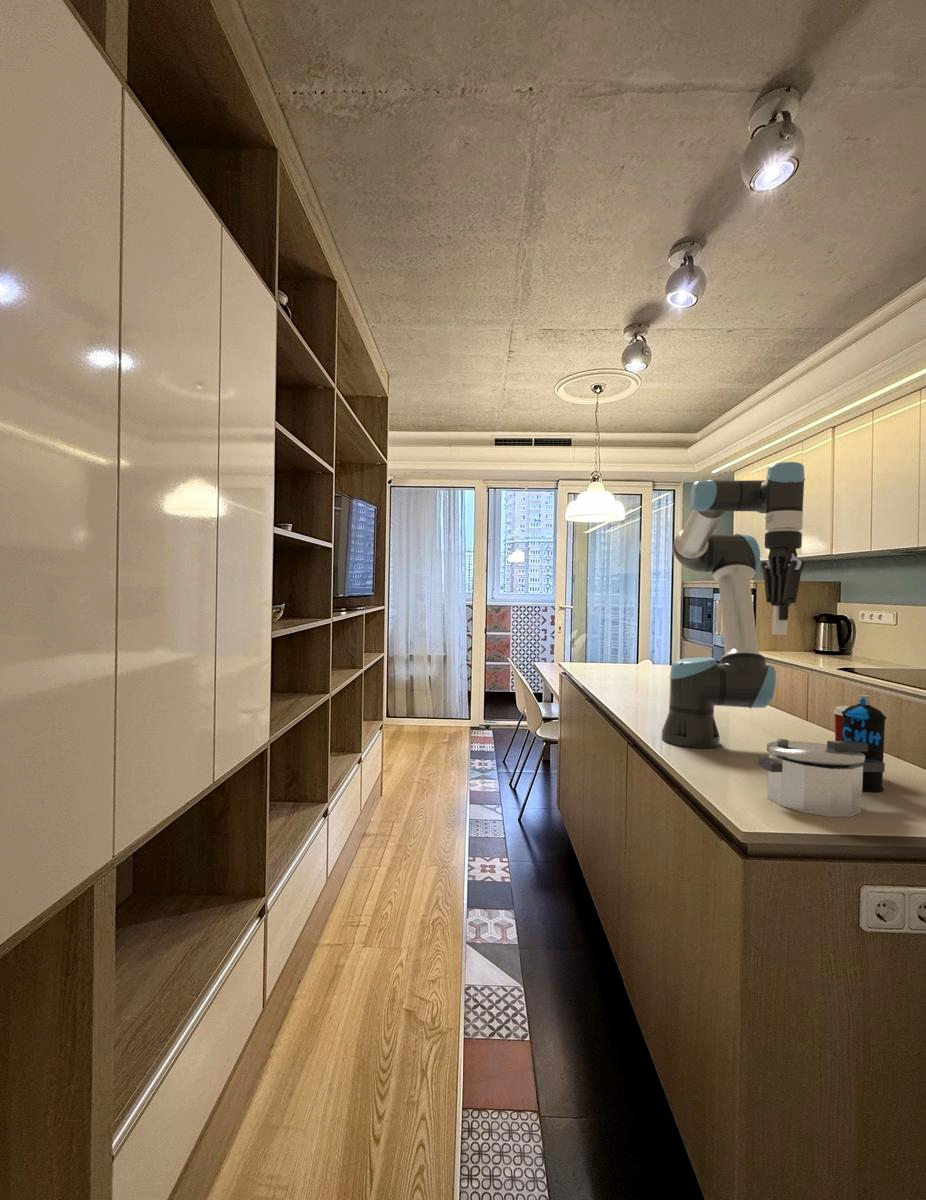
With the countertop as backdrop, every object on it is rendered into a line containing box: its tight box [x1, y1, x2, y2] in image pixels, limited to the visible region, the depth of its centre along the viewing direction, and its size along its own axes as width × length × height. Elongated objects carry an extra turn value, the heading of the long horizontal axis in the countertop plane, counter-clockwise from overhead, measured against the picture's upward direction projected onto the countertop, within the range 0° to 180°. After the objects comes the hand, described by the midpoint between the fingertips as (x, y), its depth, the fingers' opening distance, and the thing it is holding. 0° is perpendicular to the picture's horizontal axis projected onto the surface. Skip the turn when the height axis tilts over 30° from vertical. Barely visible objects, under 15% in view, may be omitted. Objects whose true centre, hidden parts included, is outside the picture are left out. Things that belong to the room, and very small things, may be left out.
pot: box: [758, 752, 886, 818], centre depth 122 cm, size 18×24×9 cm
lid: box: [766, 738, 868, 765], centre depth 122 cm, size 17×19×3 cm
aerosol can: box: [842, 694, 887, 793], centre depth 133 cm, size 8×8×20 cm
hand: (779, 634), depth 139 cm, fingers closed
